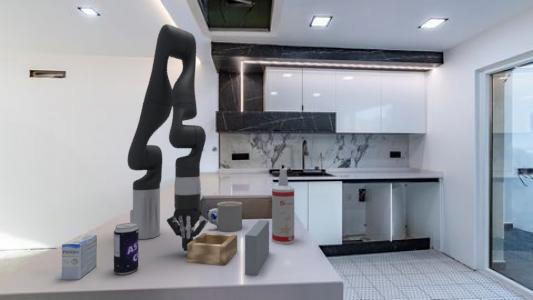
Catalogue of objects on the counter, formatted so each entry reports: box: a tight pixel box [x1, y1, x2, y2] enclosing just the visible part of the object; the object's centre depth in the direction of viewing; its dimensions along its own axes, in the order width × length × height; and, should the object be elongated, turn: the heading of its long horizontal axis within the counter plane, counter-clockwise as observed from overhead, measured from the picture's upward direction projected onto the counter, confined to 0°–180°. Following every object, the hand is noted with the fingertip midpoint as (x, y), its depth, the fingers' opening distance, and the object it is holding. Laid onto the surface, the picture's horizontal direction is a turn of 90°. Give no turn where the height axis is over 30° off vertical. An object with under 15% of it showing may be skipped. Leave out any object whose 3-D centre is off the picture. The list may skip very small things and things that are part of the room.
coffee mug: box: [207, 201, 243, 233], centre depth 114 cm, size 13×10×10 cm
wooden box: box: [186, 232, 238, 266], centre depth 83 cm, size 11×11×5 cm
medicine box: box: [61, 234, 98, 281], centre depth 73 cm, size 8×4×9 cm, turn 5°
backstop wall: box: [244, 219, 270, 277], centre depth 79 cm, size 3×16×10 cm, turn 168°
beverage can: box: [113, 222, 139, 276], centre depth 73 cm, size 6×6×12 cm
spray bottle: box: [271, 168, 295, 246], centre depth 99 cm, size 8×8×25 cm
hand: (187, 250), depth 85 cm, fingers closed
